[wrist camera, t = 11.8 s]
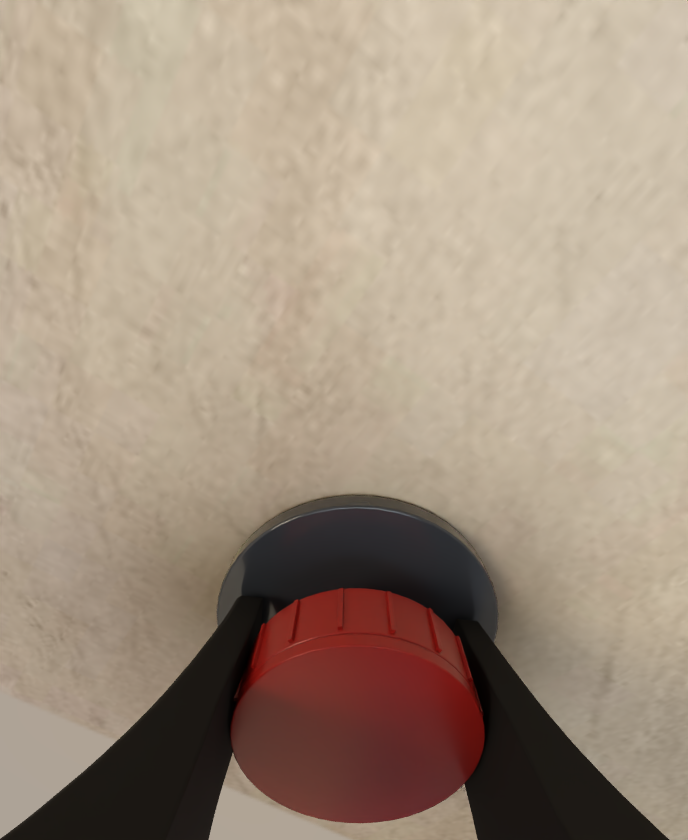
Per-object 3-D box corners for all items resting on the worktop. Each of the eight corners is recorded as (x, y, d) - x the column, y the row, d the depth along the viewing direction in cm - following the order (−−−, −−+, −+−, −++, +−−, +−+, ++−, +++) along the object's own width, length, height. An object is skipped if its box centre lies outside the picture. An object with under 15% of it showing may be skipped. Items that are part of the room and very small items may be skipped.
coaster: (459, 719, 14) (464, 738, 13) (219, 694, 13) (213, 713, 13) (523, 512, 11) (533, 525, 10) (225, 477, 11) (218, 488, 10)
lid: (369, 543, 9) (372, 596, 8) (510, 685, 10) (538, 755, 9) (200, 666, 10) (174, 732, 9) (345, 778, 12) (344, 854, 10)
